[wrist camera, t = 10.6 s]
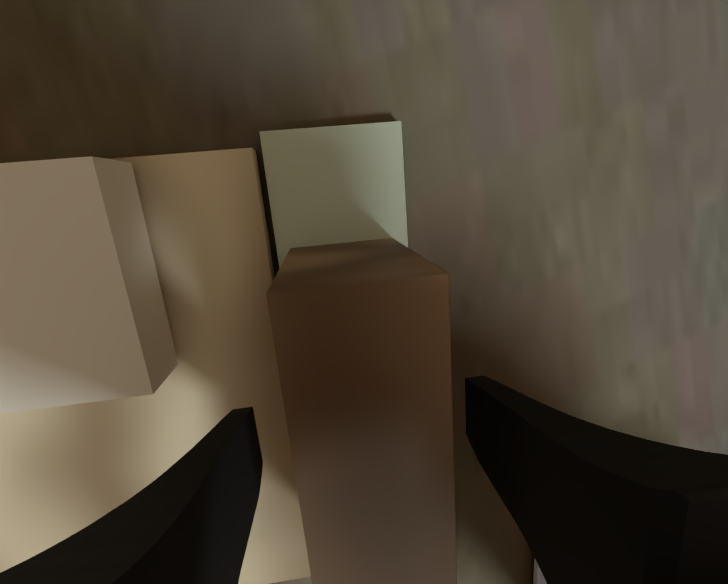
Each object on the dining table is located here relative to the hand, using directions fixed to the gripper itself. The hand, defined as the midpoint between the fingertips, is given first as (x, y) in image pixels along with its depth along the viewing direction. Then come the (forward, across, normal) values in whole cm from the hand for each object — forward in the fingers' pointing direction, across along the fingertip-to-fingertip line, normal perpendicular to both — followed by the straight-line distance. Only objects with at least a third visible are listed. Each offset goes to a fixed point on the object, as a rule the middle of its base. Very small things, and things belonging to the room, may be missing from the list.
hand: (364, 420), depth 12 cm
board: (+3, +8, 0) cm, 9 cm away
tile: (+1, +9, -2) cm, 9 cm away
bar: (+2, 0, 0) cm, 3 cm away
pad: (+3, 0, -2) cm, 4 cm away
